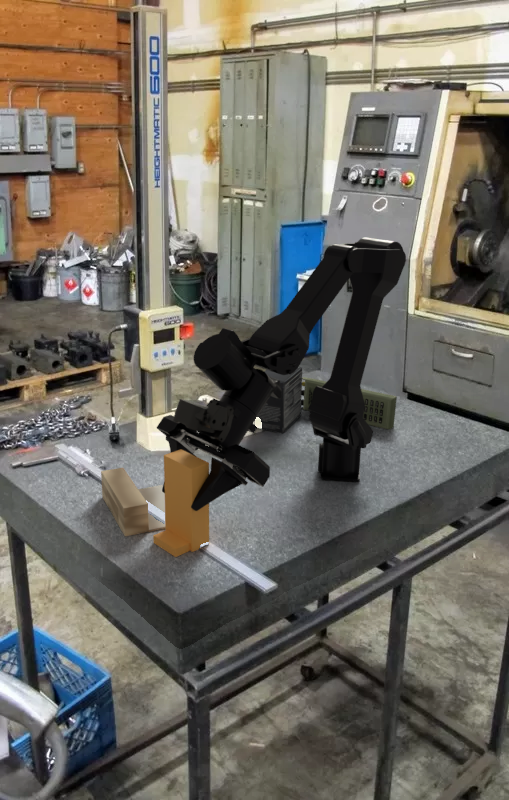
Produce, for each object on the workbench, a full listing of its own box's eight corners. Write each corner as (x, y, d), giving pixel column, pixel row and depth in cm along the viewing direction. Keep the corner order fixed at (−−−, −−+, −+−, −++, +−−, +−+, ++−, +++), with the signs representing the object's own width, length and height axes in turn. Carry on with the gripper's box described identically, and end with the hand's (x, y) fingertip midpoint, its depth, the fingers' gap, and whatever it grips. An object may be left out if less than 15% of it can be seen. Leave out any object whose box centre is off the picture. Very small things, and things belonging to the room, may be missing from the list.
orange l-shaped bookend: (182, 528, 110) (181, 449, 106) (209, 544, 106) (209, 462, 102) (151, 541, 107) (148, 460, 102) (177, 558, 103) (176, 474, 98)
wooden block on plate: (163, 486, 123) (163, 460, 121) (191, 523, 112) (191, 495, 110) (102, 497, 119) (101, 471, 117) (124, 536, 108) (123, 508, 106)
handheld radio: (388, 432, 147) (277, 405, 160) (395, 427, 150) (285, 401, 162) (392, 399, 145) (279, 375, 158) (398, 395, 148) (287, 371, 160)
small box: (272, 410, 156) (273, 361, 153) (302, 415, 154) (304, 366, 150) (252, 428, 147) (253, 376, 143) (283, 434, 145) (285, 381, 141)
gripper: (165, 361, 108) (103, 453, 105) (256, 394, 96) (188, 500, 92) (208, 400, 116) (151, 487, 113) (297, 436, 103) (236, 535, 100)
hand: (178, 501), depth 104 cm, fingers closed on orange l-shaped bookend, 6 cm apart
